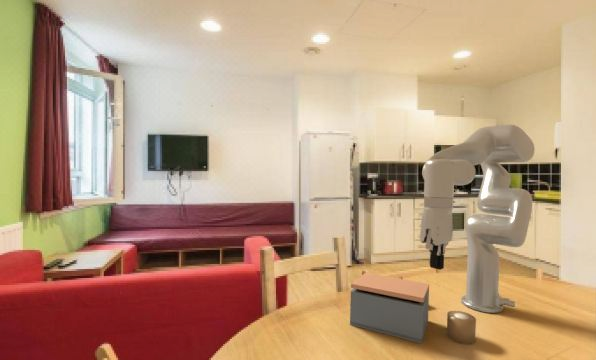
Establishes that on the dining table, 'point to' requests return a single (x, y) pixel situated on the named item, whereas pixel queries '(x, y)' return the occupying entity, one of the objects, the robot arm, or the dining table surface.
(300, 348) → the dining table surface
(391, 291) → the lid
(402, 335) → the box
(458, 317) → the brown squat cylinder
